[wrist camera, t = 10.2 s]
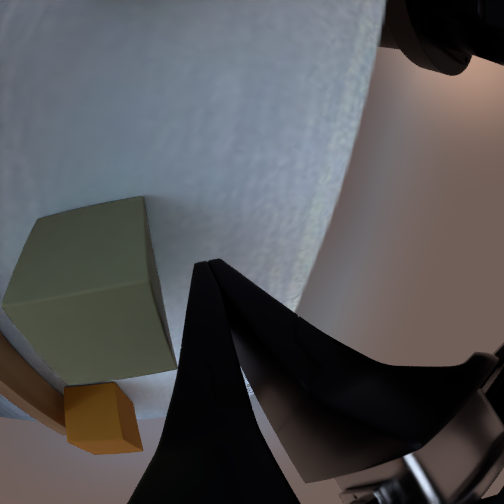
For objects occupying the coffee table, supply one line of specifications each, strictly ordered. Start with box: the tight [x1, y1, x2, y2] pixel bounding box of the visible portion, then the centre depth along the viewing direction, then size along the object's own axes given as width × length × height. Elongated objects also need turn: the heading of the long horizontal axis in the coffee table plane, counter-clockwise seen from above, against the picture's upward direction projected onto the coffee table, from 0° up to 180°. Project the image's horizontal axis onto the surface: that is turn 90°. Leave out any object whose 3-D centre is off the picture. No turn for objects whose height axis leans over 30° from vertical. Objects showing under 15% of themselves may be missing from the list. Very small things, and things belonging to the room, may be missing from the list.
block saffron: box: [64, 382, 143, 455], centre depth 13 cm, size 4×4×4 cm
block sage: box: [2, 196, 178, 385], centre depth 7 cm, size 4×4×4 cm
